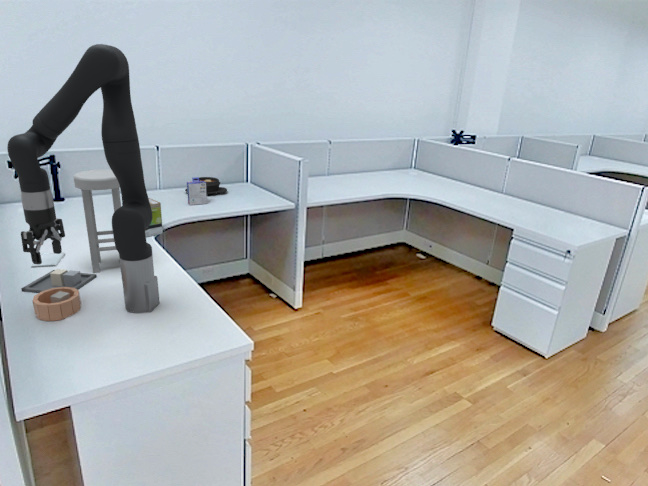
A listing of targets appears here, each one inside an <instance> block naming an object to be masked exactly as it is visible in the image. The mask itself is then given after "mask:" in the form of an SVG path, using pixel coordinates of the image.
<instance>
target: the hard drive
mask: <svg viewBox="0 0 648 486" xmlns="http://www.w3.org/2000/svg"><path fill="white" fill-rule="evenodd" d="M40 255H41V260H42V263H41V264H39V265H38V264H34V263H32V265H31V266H30V268H52V267H53V268H54V267H57V266H58V265H59V263H60V262H61V260H62V259H64V258H65V256H66V252H61V253H60V254H55V253H54V252H47V253H42V254H41V253H40Z"/></svg>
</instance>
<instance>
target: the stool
mask: <svg viewBox="0 0 648 486" xmlns="http://www.w3.org/2000/svg"><path fill="white" fill-rule="evenodd" d="M73 183H74V187H75V188H76V189H79V190H81V196H82V197H81V198H82V204H83V212H84V219H85V226H86V231H87V232H86V233H87V239H88V247H89V252H90V259H91V261H90V262H91V267H92V274H98V273H101V265H100V264H101V263H102V259H101V252H110V251H117V249H116V247H115V245H114V246H113V245H112V246H100V245H99V244H107V243H108V244H109V243H115V242H114V237H112V238H111V237H109V238H100V239H99V236H105V235H113V230H112V229H111V230H101V231H99V230H98V229H97V223H96V222H97V220H96V215H95V207H94V199H93V193H92V192H93V191H107V190H111V197H112V205H113V213H114V212H115V211H116V210H117V209H118V208H120V207H122V199H121V191H120V185H119V182H118V180H117V178H116V177H115V175H114V173H113V172H112V170H111V169H91V170H90V169H89V170H82V171H79V172H76V173H74V175H73ZM97 230H98V231H97Z"/></svg>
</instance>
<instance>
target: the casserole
mask: <svg viewBox="0 0 648 486" xmlns="http://www.w3.org/2000/svg"><path fill="white" fill-rule="evenodd" d="M193 180H198V179H193ZM199 181H205V182H206V195H207V196H210V195H216V194H221V193H222V194H223V193H225V192H227V191H228V189H227V188H226V187H223V186H220V184H221V182H220V180H219V178H218V177H212V176H211V177H210V176H201V177H199ZM184 190H185V192H186V193H187V188H185V189H184Z"/></svg>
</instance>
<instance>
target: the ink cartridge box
mask: <svg viewBox="0 0 648 486" xmlns="http://www.w3.org/2000/svg"><path fill="white" fill-rule="evenodd" d="M193 179H198V180H193ZM186 189H187V192H186V193H187V204H188V206H195V205H207V204H208V198H207V196H208V195H206V182H205V181H199V177H192V180H191V181H186Z"/></svg>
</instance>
